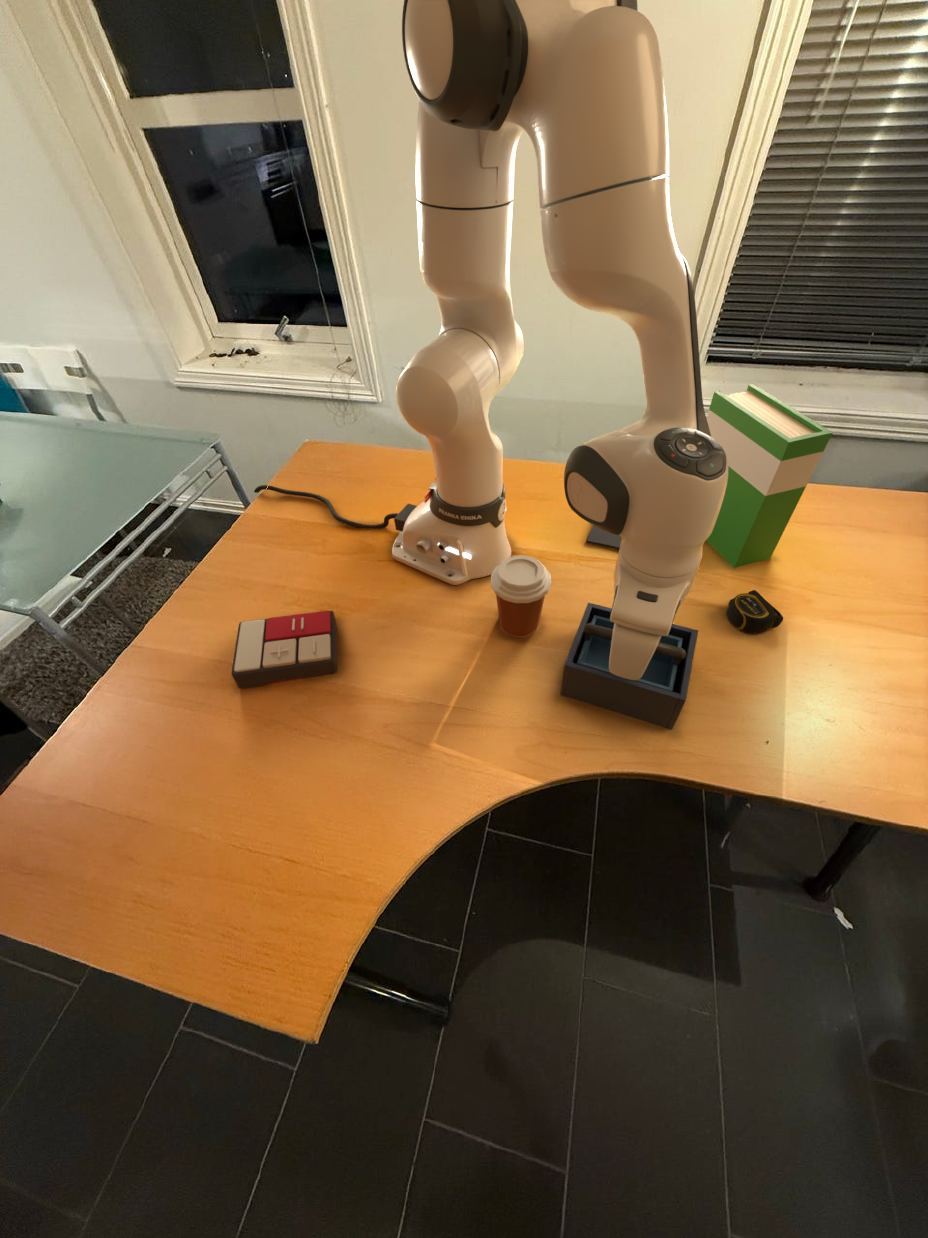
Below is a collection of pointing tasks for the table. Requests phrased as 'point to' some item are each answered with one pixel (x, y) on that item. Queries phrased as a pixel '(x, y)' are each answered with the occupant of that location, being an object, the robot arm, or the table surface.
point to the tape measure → (752, 613)
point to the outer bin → (628, 680)
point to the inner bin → (658, 668)
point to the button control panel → (285, 648)
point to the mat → (604, 538)
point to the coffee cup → (520, 593)
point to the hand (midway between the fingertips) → (632, 645)
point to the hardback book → (760, 470)
